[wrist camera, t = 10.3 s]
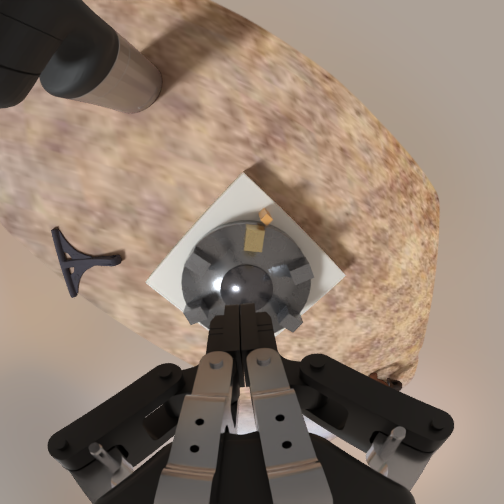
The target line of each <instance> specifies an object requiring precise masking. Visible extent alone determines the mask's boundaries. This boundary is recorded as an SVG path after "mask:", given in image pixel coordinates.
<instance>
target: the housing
mask: <svg viewBox="0 0 504 504" xmlns="http://www.w3.org/2000/svg"><path fill="white" fill-rule="evenodd" d="M241 220H254V221H260V222H263V223H264V224H265V225H266V226H267V225H268V224H270V225H273V226H275V227H277V228H279V229H281V230H282V231H284V232H285V233H286V234H288V235H289V236H290V237H291V238H292V239H293V240H294V241H295V242H296V244H297V245H298V246H299V248H300V250H301V251H302V253H303V255H304V256H305V257H306V259H307V260H308V262H309V264H310V267H311V269H312V272H313V275H314V278H312V279H311V287H310V293H309V296H308V299H307V302H306V304H305V306H304V308H303V309H302V311H301V312H300V315H302V314H303V313H305V312H306V311H307V310H308V309H309V308H310V307H312V306H313V305H314V304H315V303H316V302H317V301H318V300H320V299H321V298H322V297H323V296H324V295H325V294H326V293H327V292H329V291H330V290H331V289H332V288H333V287H334V286H335V285H336V284H337V283H338V282H340V281H341V280H342V279H343V278H344V277H345V276H346V275H345V274H344V273H343V271H342V270H341V269H340V268H339V267H338V266H337V265H336V263H335V262H334V261H333V260H332V259H331V258H330V257H329V256H328V255H327V254H326V253H325V252H324V251H323V250H322V249H321V248H320V247H319V246H318V245H317V244H316V242H315V241H314V240H313V239H312V238H311V237H310V236H309V235H308V234H307V233H306V232H305V231H304V230H303V229H302V228H301V227H300V226H299V225H298V224H297V223H296V222H295V221H294V220H293V219H292V218H291V217H290V216H289V215H288V214H287V213H286V212H285V211H284V210H283V209H282V208H281V207H280V206H279V205H278V204H277V203H276V202H275V201H274V200H273V199H272V198H270V197H269V196H268V195H267V194H266V193H265V192H264V191H263V190H262V189H261V188H260V187H259V186H258V185H257V184H256V183H255V182H254V181H253V180H252V179H251V178H249V177H248V176H247V175H246V174H245V173H244V172H242V173H241V174H240V175H239V176H238V177H237V178H236V179H235V180H234V181H233V182H232V183H231V184H230V185H229V186H228V188H227V189H226V190H225V191H224V192H223V193H222V194H221V195H220V196H219V197H218V198H217V199H216V200H215V201H214V202H213V204H212V205H211V206H210V207H209V208H208V209H207V210H206V211H205V212H204V213H203V214H202V216H201V217H200V218H199V219H198V220H197V221H196V222H195V223H194V224H193V226H192V227H191V228H190V229H189V230H188V231H187V232H186V233H185V235H184V236H183V237H182V238H181V239H180V240H179V241H178V243H177V244H176V245H175V246H174V247H173V248H172V250H171V251H170V252H169V253H168V254H167V255H166V257H165V258H164V259H163V260H162V261H161V263H160V264H159V265H158V266H157V267H156V269H155V270H154V271H153V272H152V273H151V275H150V276H149V278H148V279H147V281H146V283H147V284H148V285H149V286H150V287H152V288H153V289H154V290H155V291H157V292H158V293H159V294H160V295H162V296H163V297H164V298H165V299H167V300H168V301H169V302H171V303H172V304H173V305H175V306H176V307H177V308H178V309H180V310H181V311H182V312H184V309H185V306H186V302H185V300H184V297H183V292H182V284H181V281H182V273H183V268H184V264H185V261H186V259H187V258H188V256H189V254H190V252H191V250H192V248H193V247H194V245H195V244H196V243H197V242H198V240H199V239H201V238H202V237H203V236H204V235H205V234H206V233H208V232H209V231H211V230H212V229H214V228H216V227H218V226H220V225H223V224H225V223H229V222H233V221H241ZM198 323H199V324H200V325H201V326H203V327H204V328H206V327H205V326H204V325H202V324H201V323H200V322H198ZM206 329H207V330H208V331H209V329H208V328H206ZM284 329H286V328H283V329H281V330H280V331H278V332H276V333H274V335H275V337H276V336H277V335H278V334H279V333H281V332H282V331H283V330H284Z"/></svg>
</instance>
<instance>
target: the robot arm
mask: <svg viewBox="0 0 504 504" xmlns="http://www.w3.org/2000/svg"><path fill="white" fill-rule="evenodd" d="M39 77H40V82H41V84H42V86H43V88H44V89H45V90H46V91H47V92H48V93H49V94H51V95H53V96H56V97H61V98H66V99H71V100H75V101H80V102H85V103H89V104H93V105H98V106H102V107H105V108H109V109H113V110H117V111H120V112H124V113H137V112H140V111H142V110H144V109H146V108H147V107H149V106H150V105H151V104H152V103H153V102H154V101H155V100H156V98H157V97H158V95H159V93H160V90H161V87H162V77H161V74H160V72H159V70H158V69H157V68H156V67H155V66H154V65H153V64H152V63H151V62H150V61H149V60H148V59H147V58H146V57H145V56H144V55H143V54H141V53H140V52H139V51H138V50H137V49H136V48H135V47H134V46H133V45H131V44H130V43H129V42H128V41H127V40H126V39H125V38H123V37H122V36H121V35H120V34H119V33H117V32H116V31H115V30H114V29H113V28H112V27H111V26H109V25H108V24H107V23H106V22H105V21H104V20H102V19H101V18H100V17H99V16H98V15H96V14H95V13H94V12H93V11H92V10H91V9H90V8H89V7H88V6H87V5H86V4H85V3H84V2H83V1H82V0H0V108H8V107H12V106H15V105H17V104H19V103H20V102H22V101H23V100H24V99H25V97H26V96H27V95H28V93H29V92H30V90H31V89H32V87H33V86H34V84H35V83H36V81H37V79H38V78H39ZM240 311H241V314H240ZM244 374H245V382H246V387H250V393H251V401H252V407H253V413H254V419H255V425H256V431H255V432H252V433H248V434H244V435H238V434H237V427H238V414H239V402H240V401H239V396H240V387H245V382H244ZM159 406H160V407H159ZM158 407H159V408H158ZM157 408H158V409H157ZM155 409H156V410H155ZM154 410H155V411H154ZM153 411H154V412H153ZM150 413H151V414H150ZM149 414H150V415H149ZM302 414H303V415H304V416H306V417H307V418H309V419H311V420H312V421H314V422H315V423H317V424H318V425H320V426H321V427H323V428H324V429H326V430H328V431H329V432H331V433H333V434H334V435H336V436H337V437H339V438H341V439H343V440H344V441H346V442H348V443H349V444H351V445H353V446H354V447H356V448H358V449H360V450H362V451H363V452H365V453H367V454H366V461H367V463H368V465H369V466H370V467H369V466H367V465H365V464H364V463H362V462H360V461H359V460H357V459H356V458H354V457H352V456H351V455H349V454H348V453H346V452H345V451H343V450H341V449H340V448H339V447H337V446H335V445H334V444H332V443H331V442H330V441H328V440H326V439H325V438H323V437H321V436H318V435H316V434H312V433H309V432H308V430H307V427H306V424H305V421H304V418H303V415H302ZM146 416H147V417H146ZM145 417H146V418H145ZM453 429H454V421H453V419H452V417H451V416H450V415H449V414H448V413H447V412H445V411H443V410H440V409H438V408H435V407H433V406H431V405H428V404H426V403H424V402H421V401H419V400H417V399H415V398H412V397H410V396H408V395H406V394H403V393H401V392H399V391H397V390H395V389H393V388H391V387H389V386H386V385H384V384H382V383H380V382H378V381H376V380H374V379H372V378H370V377H368V376H366V375H364V374H362V373H360V372H358V371H356V370H354V369H352V368H350V367H348V366H346V365H344V364H342V363H340V362H338V361H336V360H334V359H332V358H330V357H328V356H326V355H323V354H311V355H308V356H306V357H304V358H303V359H302V361H301V362H299V361H291V360H288V359H285V358H283V357H282V356H281V355H280V354H279V353H278V350H277V345H276V340H275V335H274V330H273V325H272V319H271V316H270V315H269V314H268V313H267V312H256V311H255V303H246V304H240V305H239V304H234V305H225V310H224V315H215V316H214V318H213V319H212V320H211V321H210V328H209V335H208V342H207V350H206V355H204V356H203V357H202V358H201V360H200V363H199V365H197V366H195V367H192V368H189V369H185V370H181V368H180V367H179V366H177V365H175V364H172V363H165V364H161V365H159V366H157V367H155V368H154V369H152V370H151V371H149V372H148V373H147V374H145V375H144V376H142V377H141V378H139V379H138V380H136V381H135V382H133V383H132V384H130V385H129V386H127V387H126V388H125V389H123V390H122V391H120V392H119V393H117V394H116V395H114V396H113V397H111V398H110V399H108V400H107V401H105V402H104V403H102V404H100V405H99V406H97V407H96V408H94V409H93V410H91V411H90V412H88V413H87V414H85V415H83V416H82V417H80V418H79V419H77V420H76V421H74V422H72V423H71V424H70V425H68V426H66V427H64V428H63V429H61V430H60V431H58V432H56V433H55V434H53V435H52V436H51V438H50V439H49V442H48V451H49V453H50V454H51V456H53V458H54V459H56V460H57V461H58V462H59V463H60V464H61V465H62V466H63V467H64V468H65V469H66V470H67V471H69V472H70V473H71V474H72V476H73V477H74V479H75V480H76V482H77V483H78V485H79V486H80V487H81V489H82V490H83V492H84V493H85V494H86V496H87V497H88V498H89V500H90V501H91V502H92V503H93V504H416V503H415V500H414V497H413V495H412V494H411V492H410V490H411V489H412V487H413V486H414V484H415V483H416V481H417V480H418V478H419V477H420V475H421V473H422V472H423V470H424V468H425V466H426V465H427V463H428V461H429V460H430V458H431V456H432V455H433V454H434V453H435V452H436V451H437V450H438V449H439V448H440V446H441V445H442V444H443V443H444V442H445V441H446V440H447V438H448V437H449V436H450V435H451V433H452V431H453ZM174 435H175V436H174ZM173 436H174V440H173V442H171V443H169V444H167V445H166V446H164V447H163V448H162V449H161V450H159V451H158V452H157V453H156V454H155V455H154V456H152V457H151V458H150V459H149V460H148V461H146V462H145V463H144V464H143V465H141V466H140V467H139V468H138V469H137V470H135V471H134V472H133V467H134V466H136V465H137V464H138V463H140V462H141V461H142V460H144V459H145V458H146V457H147V456H149V455H150V454H152V453H153V452H154V451H155V450H157V449H158V448H159V447H160V446H162V445H163V444H164V443H165V442H167V441H168V440H169V439H170V438H171V437H173ZM372 468H373V469H372Z"/></svg>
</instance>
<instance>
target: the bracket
mask: <svg viewBox="0 0 504 504" xmlns="http://www.w3.org/2000/svg"><path fill="white" fill-rule="evenodd" d="M51 232H52V237H53V241H54V244H55V248H56V252H57V255H58V259H59V262H60V266H61V269H62V272H63V275H64V278H65V281H66V284H67V287H68V290H69V293H70V296H71V297H72V298H73V297H76V296H77V295H78V294H77V293H78V285H79V281H80V278H81V276H82V274H83V273H84V272H85V271H86V270H87V269H89V268H91V267H93V266H95V265H98V266H116V265H118V264H120V263H121V258H120V255H113V256H103V257H92V256H88V255H85V254H82V253H80V252H78V251H77V250H75V249H74V248H73V247H72V246H71V245H70V244H69V243H68V242H67V241H66V239H65V238H64V237H63V235H62V233H61V232H60V231H58V229H56V230H54V229H53V230H51ZM64 252H66V253H68V254H69V255H70V256H71V258H72V260H66V258H65V254H64ZM70 267H74V273H73V274H70V271H69V268H70Z"/></svg>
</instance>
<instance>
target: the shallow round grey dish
mask: <svg viewBox="0 0 504 504" xmlns="http://www.w3.org/2000/svg"><path fill="white" fill-rule="evenodd" d="M312 278H314V275H313V272H312V269H311V267H310V264H309V262H308V260H307V259H306V257H305V256H304V255H303V253H302V251H301V250H300V248H299V246H298V245H297V244H296V242H295V241H294V240H293V239H292V238H291V237H290V236H289V235H288V234H286V233H285V232H284V231H282V230H281V229H279V228H277V227H275V226H273V225H270V224H268V225H267V226H266V225H265V224H264V223H263V222H260V221H254V220H241V221H233V222H229V223H225V224H223V225H220V226H218V227H216V228H214V229H212V230H211V231H209V232H208V233H206V234H205V235H204V236H203V237H202V238H201V239H199V240H198V242H197V243H196V244H195V245H194V247H193V248H192V250H191V252H190V254H189V256H188V258H187V259H186V261H185V264H184V268H183V273H182V281H181V284H182V292H183V297H184V300H185V302H186V306H185V309H184V312H183V313H184V315H185V317H186V318H187V320H188V321H189V323H190V324H191V325H192V324H195V323H198V322H200V323H201V324H202V325H204V326H205V327H206V328H208V329H209V328H210V321H211V320H212V319H213V318H214V316H215V315H224V310H225V305H234V304H239V305H240V304H246V303H255V311H256V312H267V313H268V314H269V315H270V316H271V319H272V325H273V330H274V333H276V332H278V331H280V330H281V329H283V328H286V329H288V330H290V331H291V332H294V331H295V330H296V329H297V328H298V327H299V326H300V325H301V324H302V323H303V321H302V318H301V315H300V312H301V311H302V309H303V308H304V306H305V304H306V302H307V299H308V296H309V293H310V287H311V279H312ZM240 314H241V311H240Z"/></svg>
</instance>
